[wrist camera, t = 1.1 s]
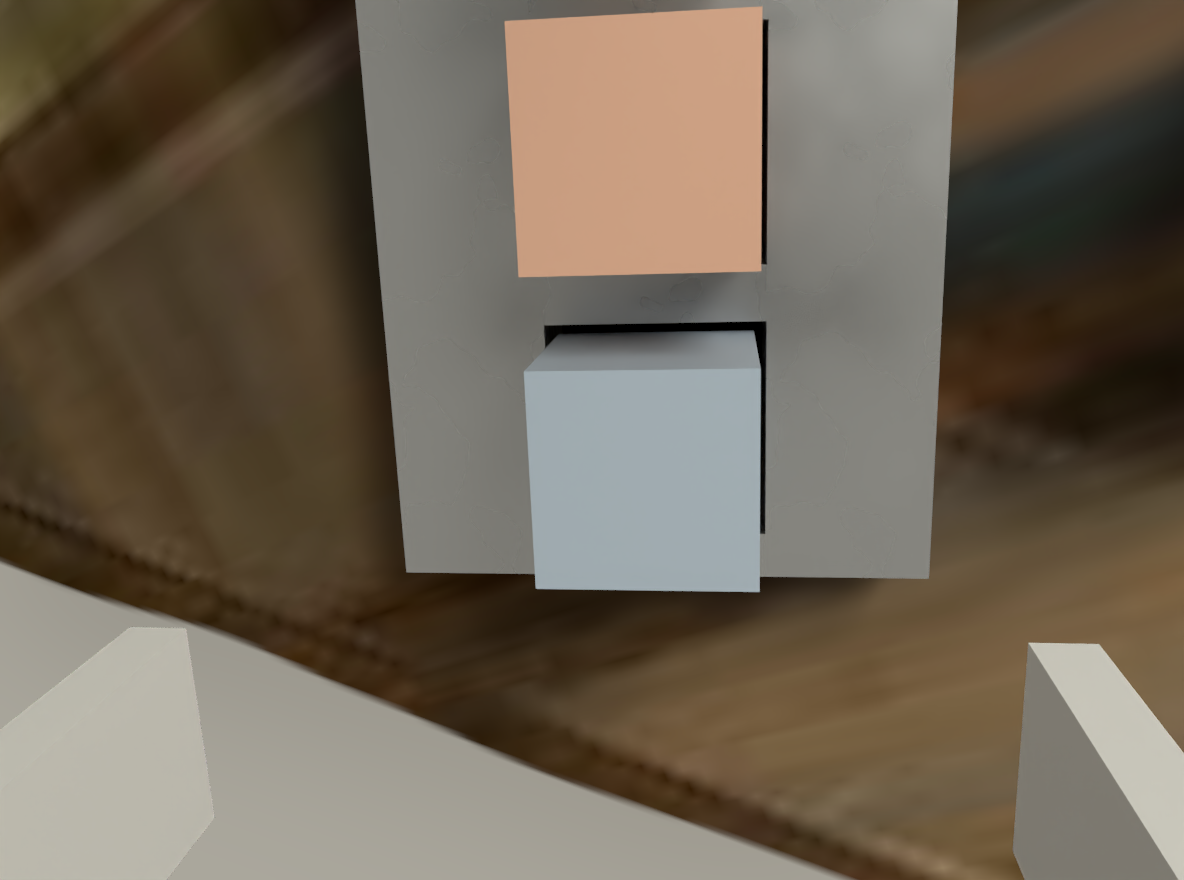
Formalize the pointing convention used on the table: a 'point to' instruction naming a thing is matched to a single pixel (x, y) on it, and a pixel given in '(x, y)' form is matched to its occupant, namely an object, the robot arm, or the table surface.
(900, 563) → the grey slotted board
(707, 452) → the slate key
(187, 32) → the table surface
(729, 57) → the terracotta key
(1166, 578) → the table surface
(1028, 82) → the table surface
